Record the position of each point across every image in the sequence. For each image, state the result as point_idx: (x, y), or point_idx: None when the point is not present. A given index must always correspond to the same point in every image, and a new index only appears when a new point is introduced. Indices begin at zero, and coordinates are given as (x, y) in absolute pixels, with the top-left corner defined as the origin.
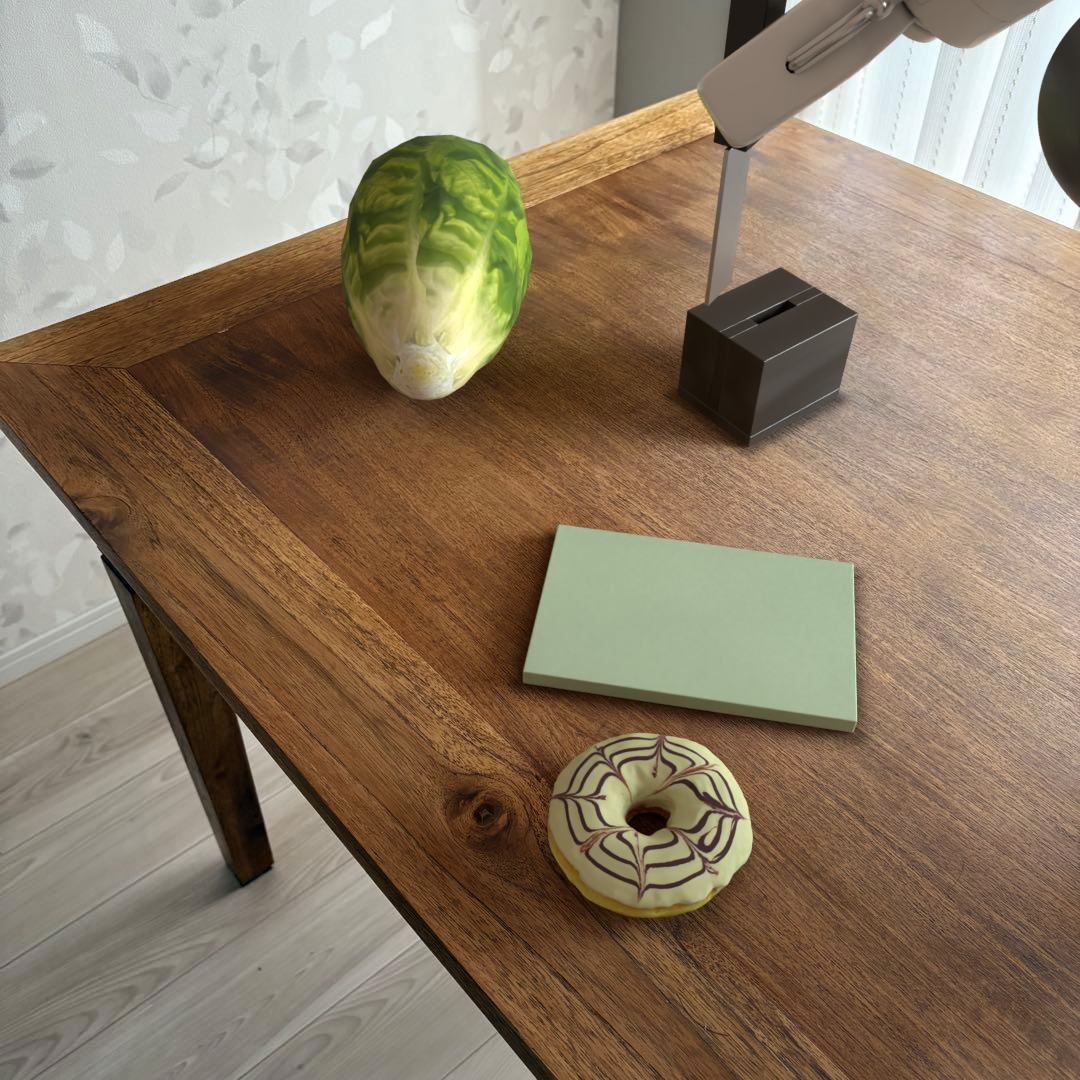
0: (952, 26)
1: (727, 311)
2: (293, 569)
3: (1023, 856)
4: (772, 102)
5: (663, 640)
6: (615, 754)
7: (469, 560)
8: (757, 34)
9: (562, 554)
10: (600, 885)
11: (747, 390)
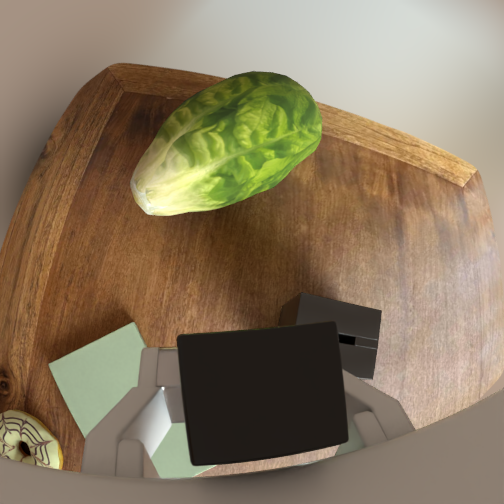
0: None
1: (318, 314)
2: (50, 231)
3: None
4: None
5: (102, 413)
6: (26, 429)
7: (94, 295)
8: (23, 501)
9: (116, 337)
10: None
11: None
